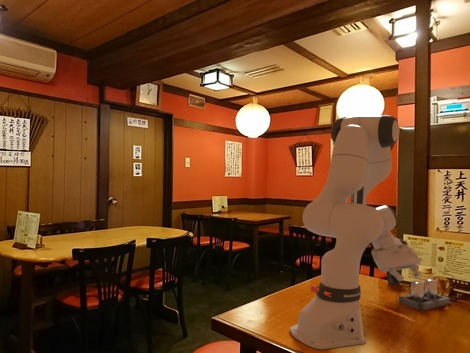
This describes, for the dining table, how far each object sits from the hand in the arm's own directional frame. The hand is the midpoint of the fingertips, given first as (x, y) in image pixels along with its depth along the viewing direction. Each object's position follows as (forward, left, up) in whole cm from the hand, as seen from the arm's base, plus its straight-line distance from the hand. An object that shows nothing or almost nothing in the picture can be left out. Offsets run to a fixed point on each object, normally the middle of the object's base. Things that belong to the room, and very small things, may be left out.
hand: (410, 278), depth 126 cm
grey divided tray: (+4, -3, -10) cm, 11 cm away
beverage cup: (+15, +19, -10) cm, 26 cm away
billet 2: (+8, -3, -9) cm, 12 cm away
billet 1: (0, -3, -9) cm, 9 cm away
